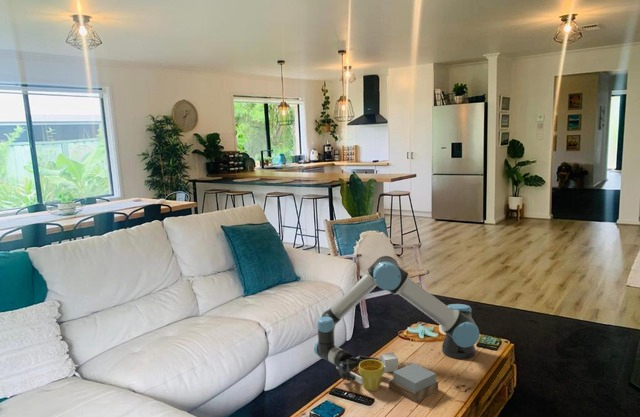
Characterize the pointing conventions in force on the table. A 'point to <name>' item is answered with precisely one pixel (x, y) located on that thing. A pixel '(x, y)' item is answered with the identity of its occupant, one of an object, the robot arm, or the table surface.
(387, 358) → the matte white cube
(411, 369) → the gray square slab
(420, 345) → the table surface
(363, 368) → the plant pot
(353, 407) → the table surface
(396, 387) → the walnut base slab
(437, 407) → the table surface
